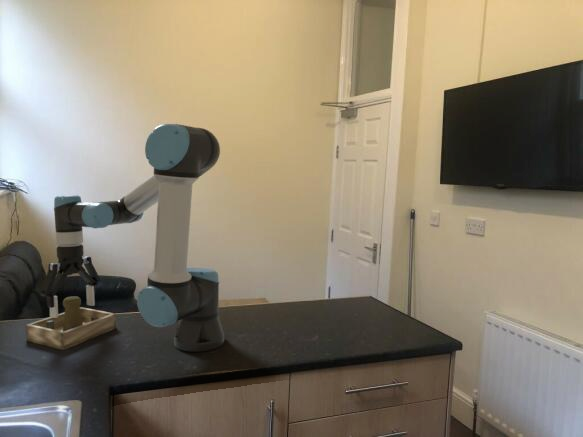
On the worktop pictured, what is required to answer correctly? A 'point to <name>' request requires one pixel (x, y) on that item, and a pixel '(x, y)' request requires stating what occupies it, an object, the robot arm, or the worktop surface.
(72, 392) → the worktop surface
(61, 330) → the socket box
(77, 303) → the cork
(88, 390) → the worktop surface
